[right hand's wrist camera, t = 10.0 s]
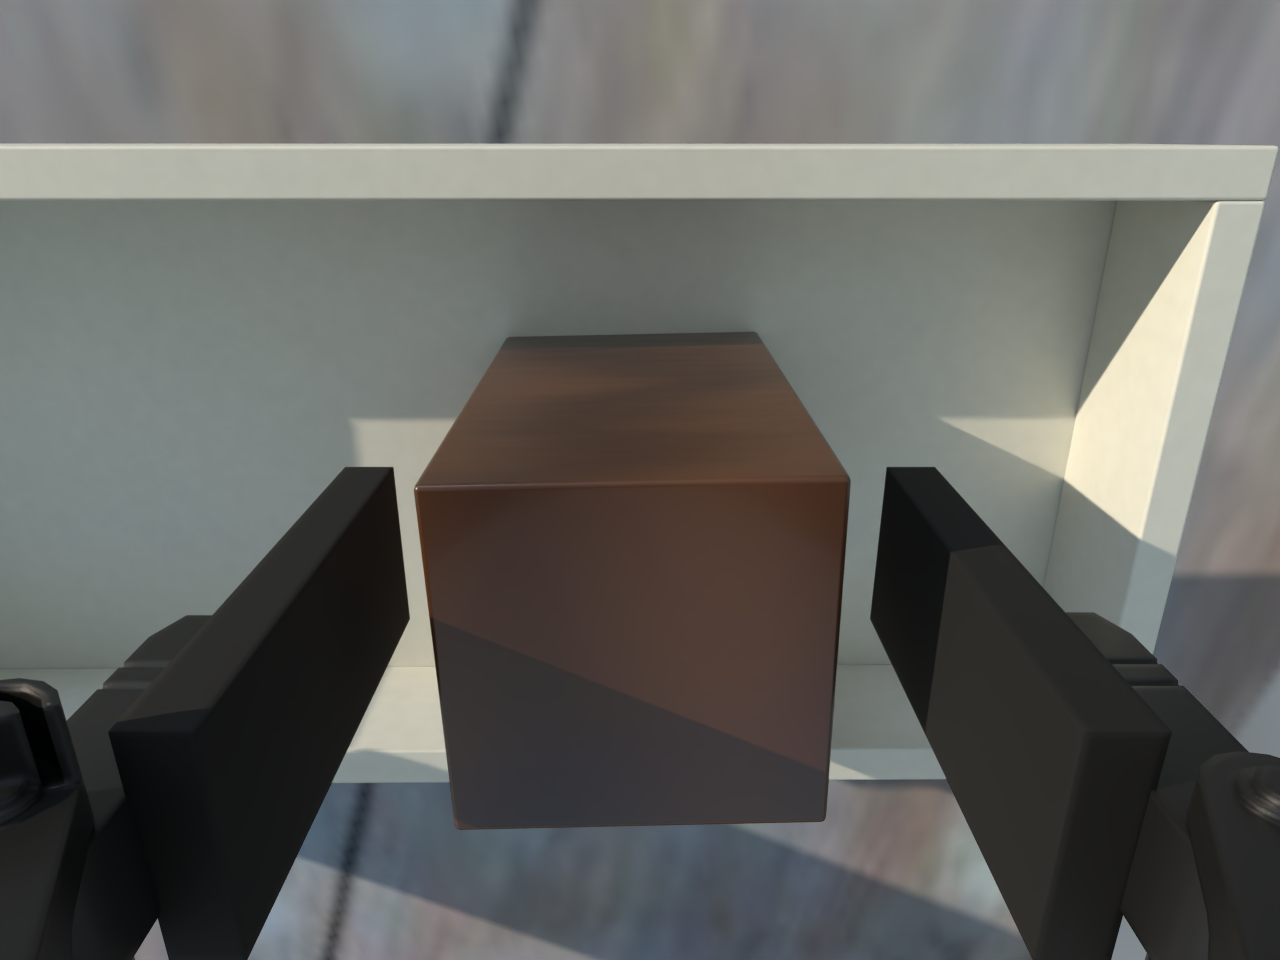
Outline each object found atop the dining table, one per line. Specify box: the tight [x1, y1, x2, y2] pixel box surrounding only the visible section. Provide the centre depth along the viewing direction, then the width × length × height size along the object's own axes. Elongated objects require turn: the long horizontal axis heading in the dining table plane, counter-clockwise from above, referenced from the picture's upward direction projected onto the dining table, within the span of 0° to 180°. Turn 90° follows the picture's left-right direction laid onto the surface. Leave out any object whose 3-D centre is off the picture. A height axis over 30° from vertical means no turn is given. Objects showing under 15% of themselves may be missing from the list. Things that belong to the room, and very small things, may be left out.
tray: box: [0, 144, 1279, 783], centre depth 15 cm, size 35×12×9 cm, turn 90°
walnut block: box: [414, 332, 851, 830], centre depth 15 cm, size 5×5×8 cm
